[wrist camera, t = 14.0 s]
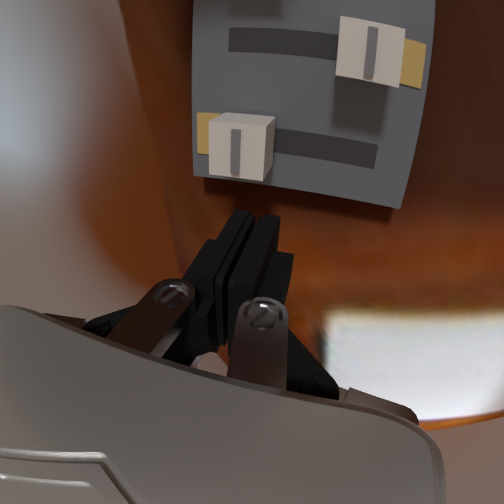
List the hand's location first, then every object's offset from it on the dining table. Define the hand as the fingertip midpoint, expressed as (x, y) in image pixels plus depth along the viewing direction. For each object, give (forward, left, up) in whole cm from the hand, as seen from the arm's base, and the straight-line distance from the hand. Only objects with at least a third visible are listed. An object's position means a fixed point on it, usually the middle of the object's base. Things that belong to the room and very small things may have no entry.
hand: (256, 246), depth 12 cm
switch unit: (0, -8, -17) cm, 19 cm away
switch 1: (+4, 0, -14) cm, 15 cm away
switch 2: (-4, -8, -14) cm, 17 cm away
